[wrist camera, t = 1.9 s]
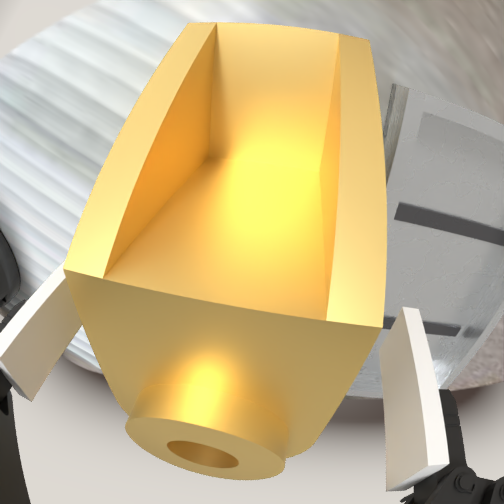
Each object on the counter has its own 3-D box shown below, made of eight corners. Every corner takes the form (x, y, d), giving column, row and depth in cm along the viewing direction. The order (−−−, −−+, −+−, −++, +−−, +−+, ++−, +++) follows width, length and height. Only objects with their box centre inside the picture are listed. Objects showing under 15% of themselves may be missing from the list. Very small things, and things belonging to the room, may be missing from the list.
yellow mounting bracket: (308, 301, 26) (291, 493, 13) (200, 283, 27) (127, 457, 14) (358, 43, 15) (516, 2, 2) (207, 28, 16) (-15, 3, 3)
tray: (312, 362, 31) (310, 391, 28) (392, 83, 16) (409, 88, 13) (431, 373, 30) (436, 399, 27) (547, 148, 15) (573, 164, 12)
